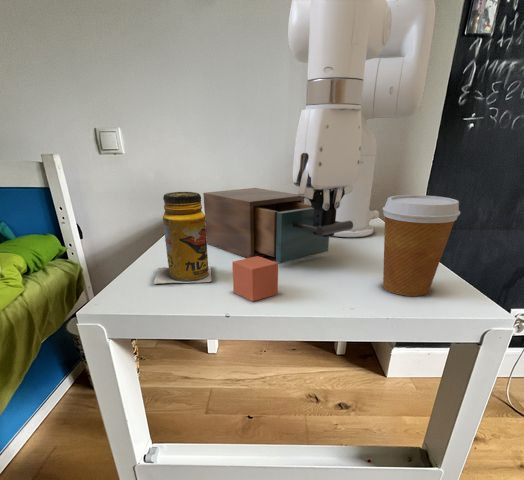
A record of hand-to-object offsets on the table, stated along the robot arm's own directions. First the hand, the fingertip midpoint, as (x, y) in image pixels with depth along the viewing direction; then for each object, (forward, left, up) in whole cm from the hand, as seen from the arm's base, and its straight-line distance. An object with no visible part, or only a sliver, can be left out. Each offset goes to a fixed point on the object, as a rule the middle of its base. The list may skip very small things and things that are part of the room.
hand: (323, 234), depth 62 cm
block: (+16, +3, -5) cm, 17 cm away
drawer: (0, -7, -4) cm, 8 cm away
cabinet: (0, -18, -5) cm, 19 cm away
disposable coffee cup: (-2, +15, -6) cm, 16 cm away
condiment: (+20, -10, -6) cm, 23 cm away
